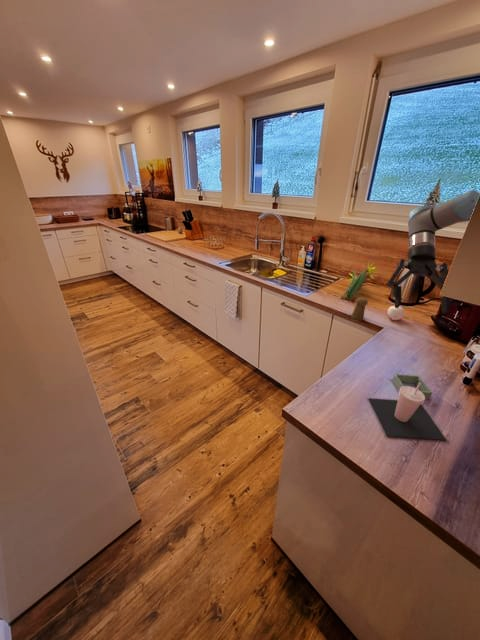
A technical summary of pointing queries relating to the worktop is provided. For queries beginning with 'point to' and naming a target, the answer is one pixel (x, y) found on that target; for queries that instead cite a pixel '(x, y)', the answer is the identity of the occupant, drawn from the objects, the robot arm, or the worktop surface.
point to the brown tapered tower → (359, 309)
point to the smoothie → (408, 402)
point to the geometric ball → (395, 313)
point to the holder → (411, 379)
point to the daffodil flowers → (358, 281)
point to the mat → (413, 428)
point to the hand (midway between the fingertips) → (421, 309)
